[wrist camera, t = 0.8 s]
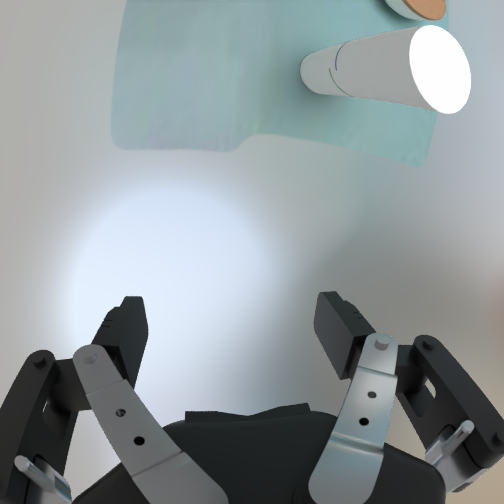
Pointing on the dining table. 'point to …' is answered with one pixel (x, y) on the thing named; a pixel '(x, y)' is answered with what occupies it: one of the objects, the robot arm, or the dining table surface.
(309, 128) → the dining table surface
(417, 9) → the lidded jar
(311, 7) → the dining table surface
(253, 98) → the dining table surface
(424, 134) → the dining table surface
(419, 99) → the cylindrical container
